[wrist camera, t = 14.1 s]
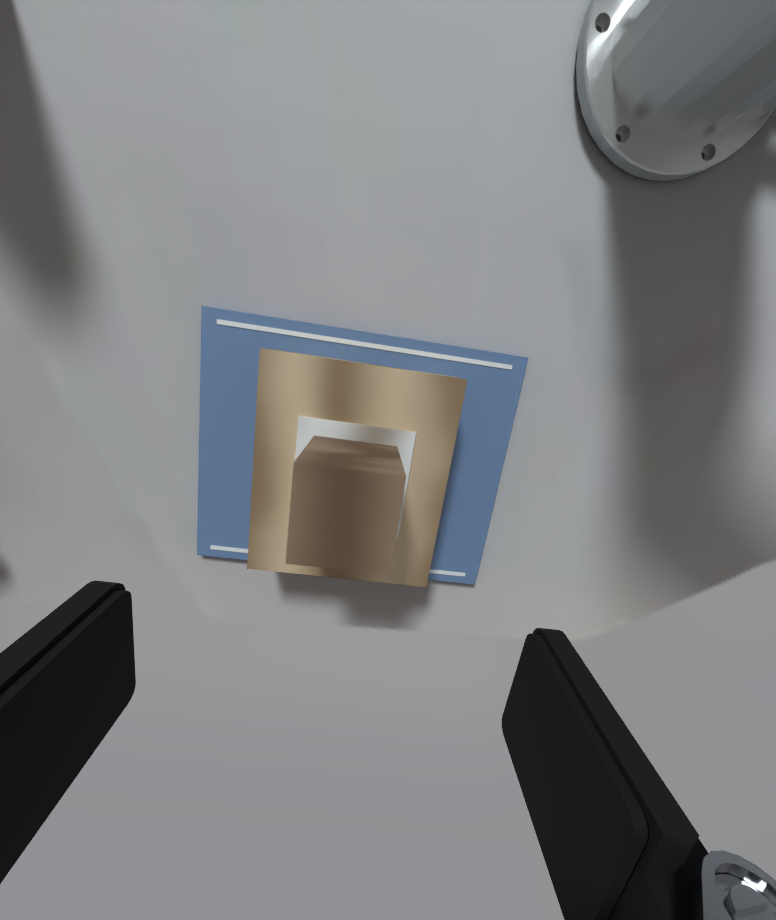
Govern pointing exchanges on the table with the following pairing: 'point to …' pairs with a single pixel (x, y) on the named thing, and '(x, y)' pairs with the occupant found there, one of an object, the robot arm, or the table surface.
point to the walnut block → (345, 505)
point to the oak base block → (358, 419)
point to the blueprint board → (242, 335)
